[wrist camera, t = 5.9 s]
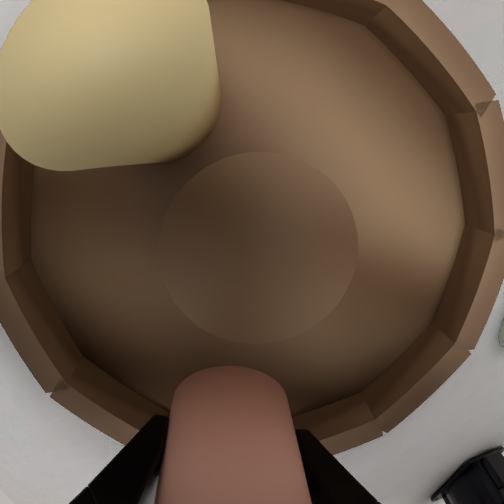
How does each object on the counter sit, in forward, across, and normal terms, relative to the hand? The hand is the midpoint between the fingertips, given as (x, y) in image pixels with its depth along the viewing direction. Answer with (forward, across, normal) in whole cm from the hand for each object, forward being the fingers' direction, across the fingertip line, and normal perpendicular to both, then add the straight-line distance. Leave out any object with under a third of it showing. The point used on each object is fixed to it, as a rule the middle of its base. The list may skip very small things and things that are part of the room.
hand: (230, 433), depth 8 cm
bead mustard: (+3, +4, -8) cm, 10 cm away
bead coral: (+1, 0, 0) cm, 1 cm away
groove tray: (+4, 0, -5) cm, 6 cm away
